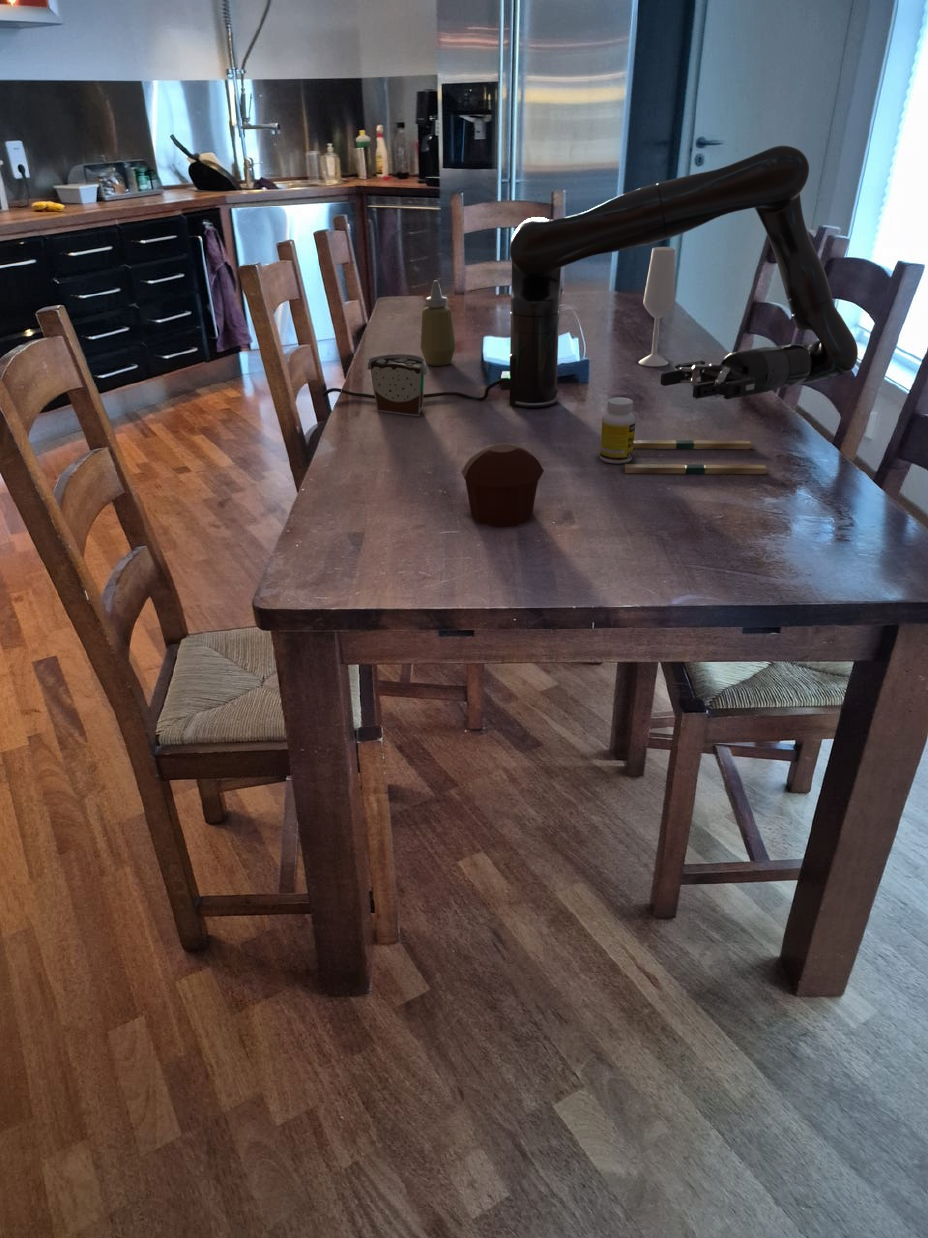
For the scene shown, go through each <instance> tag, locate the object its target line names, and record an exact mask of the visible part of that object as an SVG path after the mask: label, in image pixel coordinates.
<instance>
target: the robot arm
mask: <svg viewBox="0 0 928 1238" xmlns="http://www.w3.org/2000/svg"><path fill="white" fill-rule="evenodd" d="M809 174H810V164H809V160H808V158H807V156H806V155H805V154H804V153H803V152H802V150H800V149H798V148H796V147H793V146H790V145H777V146H776V145H775V146H771V147H770V148H767V149H766V150H763V151H761V152H758V153H756V154H754V155H751V156H749V157H746V158H744V159H742V160H739V161H737V162H734V163H731V164H729V165H726V166H723V167H720V168H719V167H718V168H716V169H712V170H708V171H703V172H697V173H693V174H689V175H685V176H681V177H676V178H672V179H669V180H664V181H660V182H657V183H652V184H650V185H645V186H643V187H640V188H637V189H634V190H631V191H628V192H626V193H623V194H621V195H618V196H616V197H614V198H612V199H609V200H607V201H605V202H603V203H602V204H599V205H597V206H595V207H593V208H591V209H589V210H587V211H584V212H581V213H577V214H574V215H569V216H565V217H561V218H555V219H547V218H545V217H539V216H538V217H535V216H534V217H531V218H527V219H526V220H524V221H523V222H521V223H520V224H519V225H518V227H517V228H516V229H515V231H514V233H513V235H512V237H511V240H510V244H509V257H510V261H511V283H510V284H511V286H510V307H509V309H510V310H509V311H510V328H509V329H510V339H509V341H510V343H509V347H510V348H509V351H510V352H509V371H508V370H502V371H501V375H500V379H498V380H495V381H493V382H491V383H489V385H487V386H486V388H485V389H484V394H483V395H481V396H479V397H478V396H477V397H476V396H471V395H468V394H466V393H463V392H459V391H442V392H441V391H440V392H432V393H423V399H427V398H428V399H429V398H436V397H446V396H448V397H449V396H450V397H451V396H453V397H454V396H455V397H461V398H464V399H469V400H473V401H474V400H475V401H484V400H486V399H487V398H488V396H489V392H490V390H491V389H492V388H493V387H495V386H498V385H500V391H509V406H514V407H520V408H526V409H529V408H530V409H538V408H546V407H550V406H553V405H555V404H556V403H557V402H558V395H559V388H558V363H559V362H558V360H559V334H560V333H559V329H560V328H559V327H560V326H559V325H560V306H561V305H560V304H561V302H560V301H561V278H562V277H561V276H562V268H563V267H566V266H568V265H570V264H574V263H576V262H578V261H582V260H584V259H588V258H591V257H594V256H598V255H604V254H611V253H616V252H620V251H624V250H625V251H626V250H629V249H634V248H638V247H642V246H647V245H650V244H654V243H658V242H662V241H665V240H668V239H671V238H674V237H677V236H679V235H682V234H685V233H688V232H690V231H692V230H694V229H696V228H698V227H701V226H703V225H704V224H707V223H709V222H711V221H713V220H715V219H717V218H720V217H722V216H725V215H729V214H731V213H736V212H741V211H745V210H750V209H754V210H755V212H756V213H757V215H758V218H759V220H760V223H761V224H762V226H763V228H764V230H765V233H766V235H767V238H768V240H769V242H770V243H769V244H770V245H771V248H772V251H773V254H774V257H775V261H776V263H777V267H778V272H779V275H780V279H781V282H782V286H783V291H784V294H785V297H786V300H787V305H788V307H789V311H790V314H791V319H792V321H793V324H794V326H795V327H796V329H798V330H800V331H812V332H813V333H814V335H815V336H816V338H817V340H814V341H811V342H808V343H804V344H796V343H795V344H794V343H791V344H784V345H777V346H762V347H757V348H756V347H755V348H751V349H745V350H737V351H734V352H730V353H728V354H727V355H725V357H724V358H723V360H721V362H720V363H719V362H717V363H716V362H712V363H710V364H706V361H705V360H697V361H690V362H684V363H683V362H682V363H677V364H675V365H674V369H673V370H667V371H663V372H662V373H661V374H660V385H661V386H663V387H669V386H672V385H678V384H691V386H692V387H693V388H692V398H694V399H696V400H697V399H702V398H707V397H715V398H719V397H722V396H723V398H724V399H725V400H731V399H736V398H742V397H747V396H753V395H758V394H763V393H767V392H770V391H771V392H772V391H773V390H776V389H780V388H781V389H782V388H786V387H791V386H796V385H800V384H801V385H802V384H803V385H804V384H810V383H811V384H812V383H816V382H817V383H818V382H820V381H825V380H828V379H832V378H834V377H835V378H836V377H839V376H842V375H846V374H848V373H849V372H851V371H852V370H853V369H854V368H855V366H856V364H857V363H858V362H857V361H858V358H859V357H858V356H859V349H858V344H857V341H856V339H855V336H854V335H853V333H852V331H851V330H850V329H849V326H848V325H847V324H846V322H845V320H844V319H843V317H842V315H841V313H840V312H839V310H838V309H837V307H836V306H835V302H834V299H833V294H832V290H831V287H830V284H829V280H828V277H827V273H826V271H825V268H824V265H823V263H822V261H821V259H820V257H819V255H818V252H817V251H816V248H815V246H814V244H813V243H812V240H811V237H810V234H809V232H808V229H807V226H806V223H805V219H804V214H803V208H802V199H801V193H802V191H803V190H804V188H805V186H806V184H807V182H808V179H809V176H810V175H809ZM697 378H698V379H700V381H698V379H697ZM341 390H342V392H341ZM334 392H335V393H341V394H345V395H348V396H352V397H360V398H361V397H362V398H366V399H372V400H375V395H374V394H370V393H364V392H355V391H350V390H348V389H347V390H346V389H343V388H339V387H330V388H328V389H326V390H325V391H323V393H322V394H321V396H323V397H325V396H328V395H329V394H330V393H334Z"/></svg>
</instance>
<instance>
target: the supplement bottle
mask: <svg viewBox="0 0 928 1238" xmlns="http://www.w3.org/2000/svg"><path fill="white" fill-rule="evenodd" d="M633 404H634V401H633V399H631V398H627V397H612V398H609V399H608V400H607V407H606V409H607V410H608V411H606V412H605V413H604V414H603V415H602V418H601V431H600V444H599V458H600V460H601V461H602V462H604V463H608V464H616V465H617V464H619V465H620V464H628V463H629V462H631V461H632V459H633V453H634V449H633V444H634V440H635V434H636V433H635V431H636V415H635V414H634V413H632V411H633V408H634V407H633V406H634V405H633Z"/></svg>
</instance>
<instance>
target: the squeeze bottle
mask: <svg viewBox="0 0 928 1238" xmlns="http://www.w3.org/2000/svg"><path fill="white" fill-rule="evenodd" d="M425 306H426V307H424V309H423V310H422V311H421V329H420V330H421V331H420V334H421V335H420V350H421V353H422V356H423V359H424V361H425V363H426V365H429V366H435V367H439V366H446V365H450V364H451V363H452V361H453V359H454V355H455V351H456V348H457V345H456V338H455V330H454V321H453V313H452V309H451V308H450V307H448V297H446V296H443V294H442V290H441V286H440V281H439V280H437V279H435V280H432V285H431V292H430V296H428V297H426V298H425Z"/></svg>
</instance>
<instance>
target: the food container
mask: <svg viewBox="0 0 928 1238" xmlns="http://www.w3.org/2000/svg"><path fill="white" fill-rule="evenodd" d="M366 370H367V371H369V370H370V376H371V382H372V389H373V395H375V399H374V400H375V406H376V412H382V413H388V414H396V415H404V416H411V417H412V416H413V417H421V416H422V415H423V411H424V410H423V409H424V398H423V394H424V393H425V392H424V391H425V389H424V388H425V376H426V375H427V374H428V373H429V371H428V366H427V363H426V361H425V359H424V357H422V356H419V355H415V354H406V353H405V354H404V353H395V354H393V353H392V354H384V355H378V356H373V357H370V358H369V359H368V362H367V368H366Z"/></svg>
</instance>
